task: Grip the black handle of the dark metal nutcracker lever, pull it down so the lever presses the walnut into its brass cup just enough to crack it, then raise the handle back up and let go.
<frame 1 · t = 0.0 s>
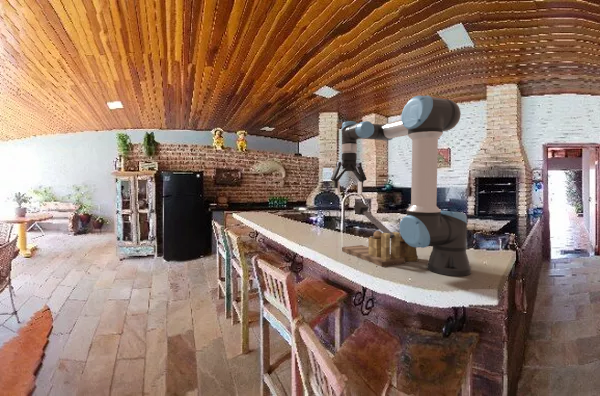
hand: (348, 194, 154), 28 cm above the table, tool pointing down, fingers open, 13 cm apart
nutcracker base: (370, 256, 138), on the table
walnut: (378, 235, 133), point 11 cm above the table, slide at 0.0 cm
wooden mug: (410, 259, 135), on the table
lever: (373, 220, 135), point 17 cm above the table, hinge at -25.0°
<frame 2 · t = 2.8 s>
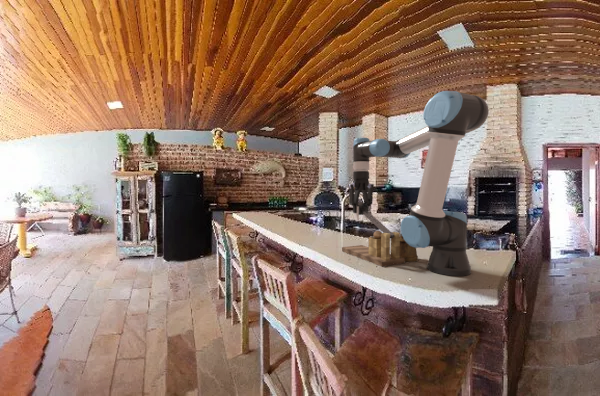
hand: (360, 219, 144), 16 cm above the table, tool pointing down, fingers closed on lever, 4 cm apart
lever: (373, 220, 135), point 17 cm above the table, hinge at -25.0°, touching gripper
everything else where it was.
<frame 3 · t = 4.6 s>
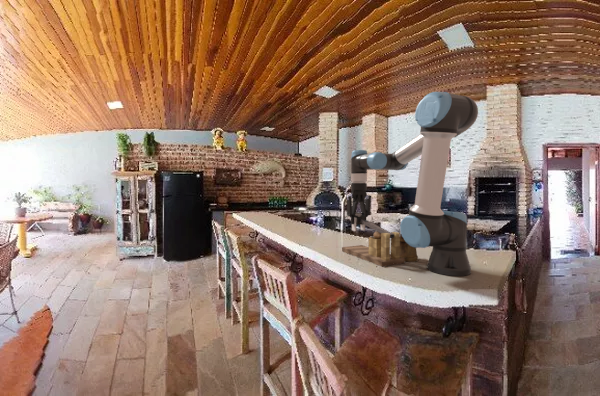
hand: (358, 230, 146), 11 cm above the table, tool pointing down, fingers closed on lever, 4 cm apart
walnut: (378, 235, 133), point 11 cm above the table, slide at 0.1 cm, touching lever
lever: (372, 225, 136), point 14 cm above the table, hinge at -11.2°, touching gripper, walnut
everything else where it was.
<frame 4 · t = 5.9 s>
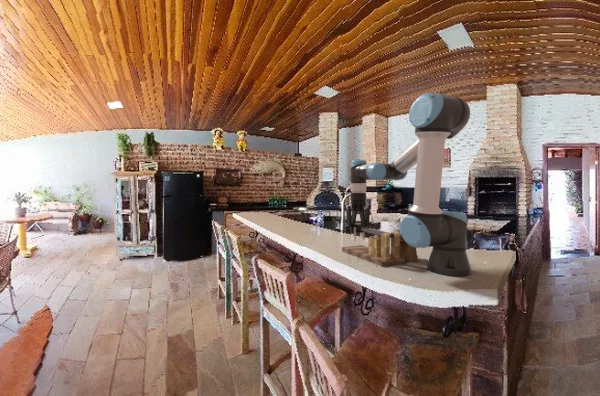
hand: (357, 239, 147), 6 cm above the table, tool pointing down, fingers closed on lever, 4 cm apart
walnut: (378, 238, 133), point 9 cm above the table, slide at 1.6 cm, touching lever
lever: (372, 231, 137), point 12 cm above the table, hinge at -0.1°, touching gripper, walnut
everything else where it was.
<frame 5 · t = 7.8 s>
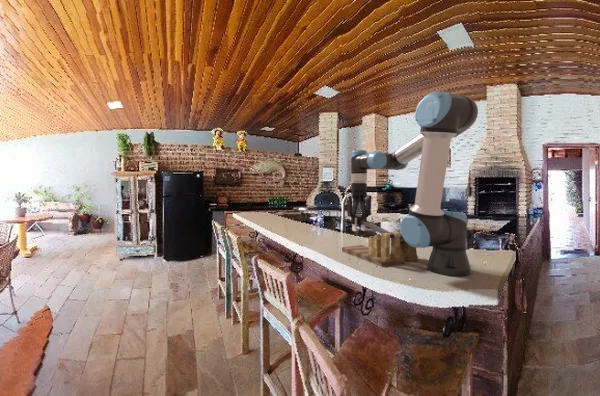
hand: (358, 230, 146), 11 cm above the table, tool pointing down, fingers closed on lever, 4 cm apart
walnut: (378, 238, 133), point 9 cm above the table, slide at 1.6 cm
lever: (372, 226, 136), point 14 cm above the table, hinge at -10.8°, touching gripper
everything else where it was.
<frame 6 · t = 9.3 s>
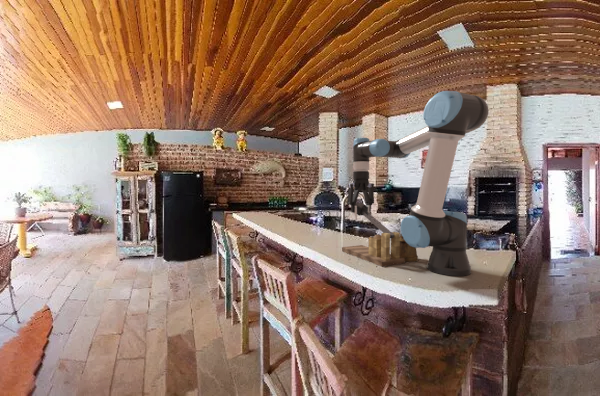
hand: (360, 218, 144), 17 cm above the table, tool pointing down, fingers open, 7 cm apart
lever: (373, 220, 135), point 17 cm above the table, hinge at -23.9°
everything else where it was.
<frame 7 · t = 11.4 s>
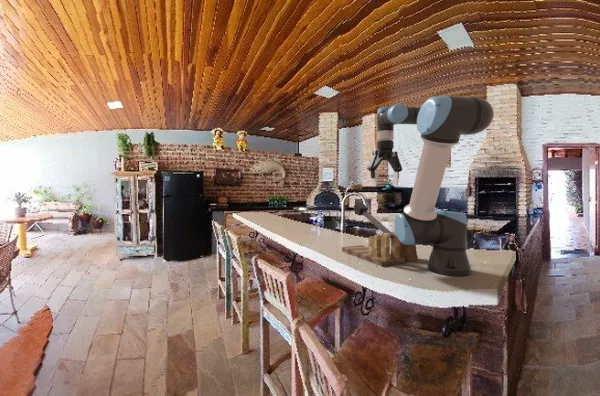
hand: (385, 185, 143), 33 cm above the table, tool pointing down, fingers open, 13 cm apart
nothing on the table moved.
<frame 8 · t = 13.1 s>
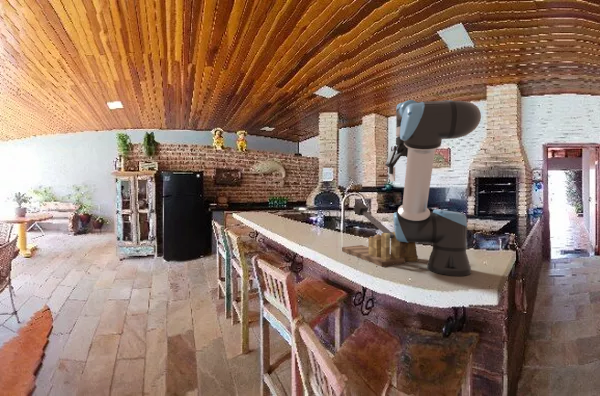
hand: (403, 181, 144), 35 cm above the table, tool pointing down, fingers open, 13 cm apart
nothing on the table moved.
at the end: walnut slide at 1.6 cm; lever at -24° (first picture: -25°); the gripper is holding nothing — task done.
